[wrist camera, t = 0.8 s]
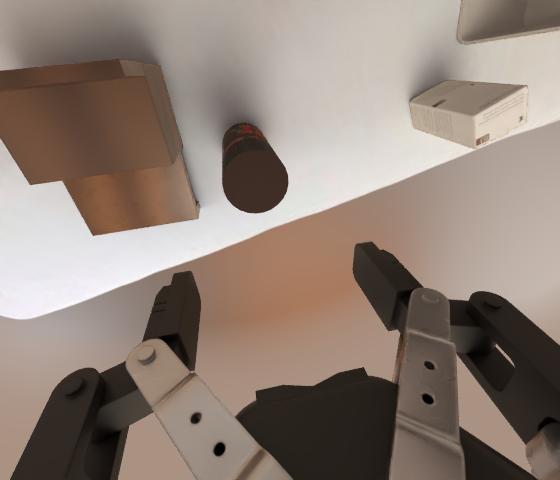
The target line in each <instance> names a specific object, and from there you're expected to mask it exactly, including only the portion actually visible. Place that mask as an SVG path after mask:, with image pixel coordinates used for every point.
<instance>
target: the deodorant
mask: <svg viewBox="0 0 560 480" xmlns="http://www.w3.org/2000/svg"><path fill="white" fill-rule="evenodd" d="M222 184H223V190H224V193H225V195H226V197H227V199H228V200H229V202H230V203H231V204H232V205H233V206H235V207H236V208H238V209H239V210H241V211H244V212H247V213H262V212H266V211H268V210H271V209H272V208H274V207H275V206H277V205H278V204H279V203H280V202H281V200H282V199H283V198H284V196H285V194H286V192H287V188H288V174H287V171H286V168H285V166H284V165H283V163H282V162H281V160H280V159H279V158H278V156H277V155H276V153H275V152H274V150H273V149H272V147H271V146H270V144H269V143H268V141H267V140H266V138H265V137H264V136H263V134H262V133H261V131H260V130H259V129H258V128H257V127H255V126H253V125H251V124H247V123H240V124H236V125H234V126H232V127H231V128H230V129H229V130H228V131H227V132H226V134H225V136H224V138H223V145H222Z"/></svg>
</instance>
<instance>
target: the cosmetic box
mask: <svg viewBox="0 0 560 480" xmlns="http://www.w3.org/2000/svg"><path fill="white" fill-rule="evenodd" d="M409 104H410V111H411V116H412V121H413V126H414V128H415V129H417V130H420V131H423V132H426V133H429V134H432V135H435V136H438V137H441V138H444V139H447V140H449V141H452V142H455V143H458V144H461V145H464V146H467V147H470V148H472V149H477V148H479V147H481V146H483V145H485V144H486V143H488V142H490V141H493V140H496V139H498V138H501V137H503V136H504V135H506V134H507V133H508V132H510V131H512V130H513V129H515V128H517V127H519V126H521V125H523V124H525V123H526V122H527V113H528V86H527V85H511V84H499V83H485V82H470V81H456V80H447V81H444V82H442V83H440V84H438V85H436V86H434V87H432V88H431V89H429V90H427V91H425V92H424V93H422V94H420V95H419V96H417V97H415V98H414V99H412V100H411V101H410V102H409Z"/></svg>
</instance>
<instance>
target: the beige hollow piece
mask: <svg viewBox="0 0 560 480" xmlns="http://www.w3.org/2000/svg"><path fill="white" fill-rule="evenodd" d="M558 30H560V0H462V3H461V9H460V16H459V23H458V29H457V38H458V40H459V42H460V43H462V44H465V45H468V44H474V43H481V42H487V41H494V40H500V39H507V38H513V37H519V36H526V35H532V34H539V33H545V32H552V31H558Z"/></svg>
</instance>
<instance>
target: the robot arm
mask: <svg viewBox="0 0 560 480" xmlns="http://www.w3.org/2000/svg"><path fill="white" fill-rule="evenodd" d="M353 261H354V262H353V274H354V278H355V280H356V282H357V283H358V285H359V286H360V288H361V289H362V291H363V292H364V294H365V296H366V297H367V299H368V300H369V302H370V303H371V305H372V307H373V308H374V309H375V311H376V313H377V314H378V316H379V317H380V319H381V321H382V322H383V323H384V325H385V327H386V328H387V330H388V331H392V330H396V329H398V331H399V332H400V333H401V334H400V338H399V344H398V349H397V356H396V362H395V369H394V374H393V379H392V382H391V381H388V380H386V379H383V378H379V377H374V376H368V375H367V373H366V371H365V369H364V367H363V368H358V369H353V370H349V371H344V372H340V373H337V374H335V375H333V376H332V377H330V378H328V379H326V380H324V381H322V382H320V383H318V384H317V385H315V386H294V385H281V386H277V387H272V388H268V389H263V390H258V391H256V401H254V402H252V403H250V404H249V405H248V406H246V407H245V408H244V409H242V410H241V411H240V412H239V413H238V414H237V415H236V417H234V416H233V415H232V413H231V412H230V411H229V410H228V409H227V408H226V407H225V406H224V404H223V403H222V402H221V401H220V400H219V399H218V398H217V396H216V395H215V394H214V393H213V392H212V391H211V390H210V388H209V387H208V386H207V385H206V384H205V383H204V382H203V380H201V378H200V377H199V376H198V375H197V374H196V373H191V372H190V371H194V370H195V362H196V352H197V341H198V331H199V322H200V311H201V300H200V295H199V292H198V289H197V286H196V282H195V280H194V276H193V273H192V272H191V271H186V272H180V273H175V274H174V275H173V278H172V282H171V285H169V286H164V287H163V288H162V289H161V290H160V291H159V293H158V294H157V295H156V298H155V302H154V306H153V308H152V311H151V312H152V314H151V315H150V318H149V321H148V324H147V328H146V331H145V334H144V338H143V341H142V343H140V344H139V345H137V346H136V347H135V348H134V349H133V350H132V351H131V352H130V354H129V355H128V357H127V359H126V361H125V362H123V363H121V364H119V365H117V366H115V367H112V368H110V369H108V370H106V371H104V372H102V373H99V372H98V371H97V370H96V369H94V368H83V369H80V370H77V371H75V372H73V373H71V374H70V375H68V376H67V377H65V378H64V379H63V380H62V381H61V382H60V383H59V384H58V385H57V386H56V387H55V389H54V390H53V392H52V394H51V396H50V398H49V400H48V402H47V404H46V406H45V408H44V410H43V412H42V415H41V417H40V418H39V421H38V423H37V425H36V427H35V429H34V431H33V433H32V435H31V437H30V440H29V441H28V443H27V446H26V448H25V450H24V452H23V454H22V456H21V458H20V460H19V462H18V464H17V466H16V468H15V471H14V472H13V475H12V477H11V479H10V480H118V475H119V471H120V466H121V461H122V457H123V452H124V447H125V443H126V438H127V433H128V429H129V425H131V424H133V423H135V422H136V421H138V420H140V419H142V418H144V417H146V416H147V415H149V414H151V413H153V412H154V413H155V415H156V417H157V418H158V420H159V421H160V423H161V425H162V426H163V428H164V429H165V431H166V432H167V434H168V436H169V437H170V439H171V440H172V442H173V443H174V445H175V446H176V448H177V450H178V451H179V453H180V454H181V456H182V457H183V459H184V461H185V462H186V464H187V466H188V467H189V469H190V470H191V472H192V473H193V475H194V477H195V478H196V480H560V345H559V344H557V343H556V342H555V341H554V340H553V339H552V338H550V337H549V336H548V335H547V334H546V333H545V332H543V331H542V330H541V329H540V328H539V327H538V326H536V325H535V324H534V323H533V322H532V321H531V320H529V319H528V318H527V317H526V316H525V315H524V314H523V313H521V312H520V311H519V310H518V309H517V308H515V307H514V306H513V305H512V304H511V303H510V302H508V301H507V300H506V299H504V298H503V297H501V296H499V295H497V294H494V293H490V292H484V291H478V292H475V293H473V294H472V295H471V297H470V299H469V301H463V300H449V299H447V298H446V297H445V296H444V295H443V294H441V293H440V292H438V291H436V290H433V289H429V288H424V287H423V286H422V285H421V284H420V283H419V282H418V281H417V280H416V279H415V278H414V277H413V276H412V275H411V274H410V272H409V271H408V270H407V269H406V268H404V266H403V265H402V264H401V263H399V261H398V260H397V259H396V257H395V256H394V255H393V254H391V253H389V252H387V251H385V250H379V249H378V247H377V246H376V245H375V244H374V243H373V242H371V241H370V242H365V243H358V244H356V245H355V250H354V260H353ZM496 344H498V346H499V347H500V348H501V349H502V350H503V351H504V352H505V353H506V354H507V355H508V356H509V358H510V359H511V360H512V362H513V363H514V366H515V367H514V366H513V365H512V364H511V363H510V362H509V361H508V360H507V359H506V358H505V356H503V354H502V353H501V352H500V351H499V350H498V349H497V348H496V347H495V345H496ZM456 354H457V355H458V356H459V358H460V359H461V360H462V362H463V363H464V364H465V365H466V367H467V368H468V370H469V371H470V372H471V373H472V375H473V376H474V377H475V379H476V380H477V381H478V383H479V384H480V385H481V387H482V388H483V389H484V390H485V392H486V393H487V395H488V396H489V397H490V398H491V400H492V401H493V402H494V404H495V405H496V406H497V408H498V409H499V410H500V412H501V413H502V414H503V416H504V417H505V418H506V420H507V421H508V422H509V423H510V425H511V426H512V427H513V429H514V430H515V431H516V433H517V434H518V435H519V436H520V438H521V439H522V441H523V442H524V443H525V445H526V457H527V460H528V462H529V464H530V466H531V467H532V469H531V472H532V475H531V474H530V473H529V472H527V471H526V470H524V469H522V468H521V467H519V466H518V465H516V464H515V463H514V462H512V461H511V460H509V459H508V458H506V457H505V456H503V455H502V454H500V453H499V452H497V451H495V450H494V449H493V448H491V447H490V446H488V445H487V444H485V443H484V442H482V441H481V440H479V439H478V438H476V437H475V436H473V435H472V434H470V433H469V432H467V431H466V430H464V429H463V428H461V427H460V426H459V413H458V388H457V362H456Z"/></svg>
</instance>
